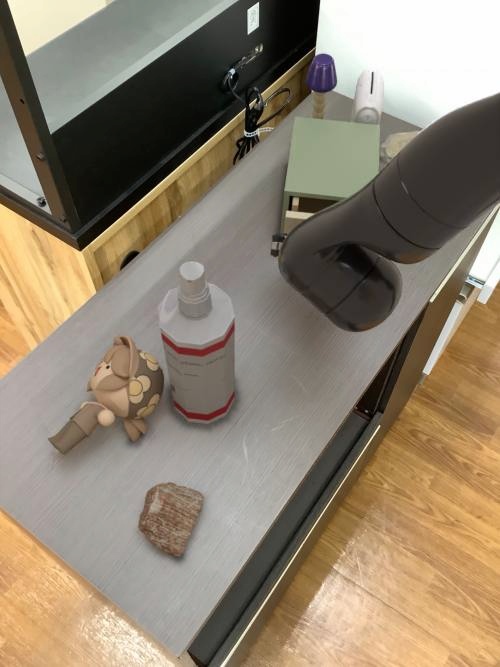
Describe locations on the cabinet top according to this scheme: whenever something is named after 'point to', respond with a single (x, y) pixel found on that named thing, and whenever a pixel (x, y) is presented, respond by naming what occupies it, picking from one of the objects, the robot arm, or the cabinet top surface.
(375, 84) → the photo printer
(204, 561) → the cabinet top surface
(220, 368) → the spray bottle
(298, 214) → the drawer
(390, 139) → the fossil replica
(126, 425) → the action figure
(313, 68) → the toy lamp
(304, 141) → the cabinet
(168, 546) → the stone
